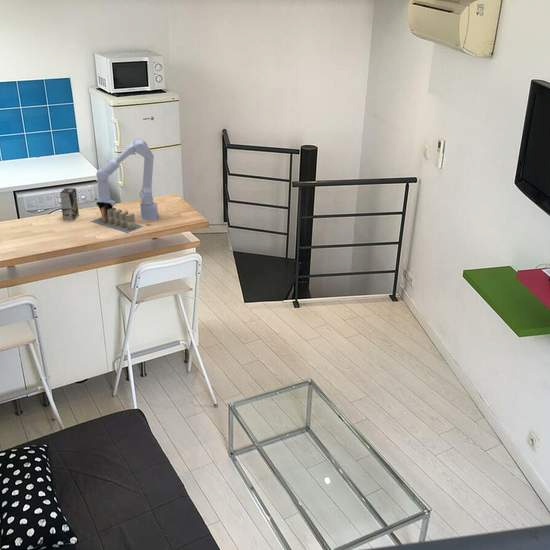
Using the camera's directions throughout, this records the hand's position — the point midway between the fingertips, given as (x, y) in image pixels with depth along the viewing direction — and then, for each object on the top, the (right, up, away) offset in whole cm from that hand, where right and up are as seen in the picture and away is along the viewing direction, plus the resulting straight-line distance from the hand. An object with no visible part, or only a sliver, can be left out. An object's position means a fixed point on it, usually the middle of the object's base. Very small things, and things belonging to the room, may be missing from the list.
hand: (106, 215), depth 341 cm
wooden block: (+11, -7, -5) cm, 14 cm away
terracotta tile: (0, -3, +1) cm, 3 cm away
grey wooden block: (+8, -5, -3) cm, 10 cm away
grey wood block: (+4, -4, -1) cm, 6 cm away
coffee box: (-21, -2, +5) cm, 21 cm away
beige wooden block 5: (+15, -8, -7) cm, 19 cm away
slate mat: (+6, -5, -2) cm, 9 cm away
